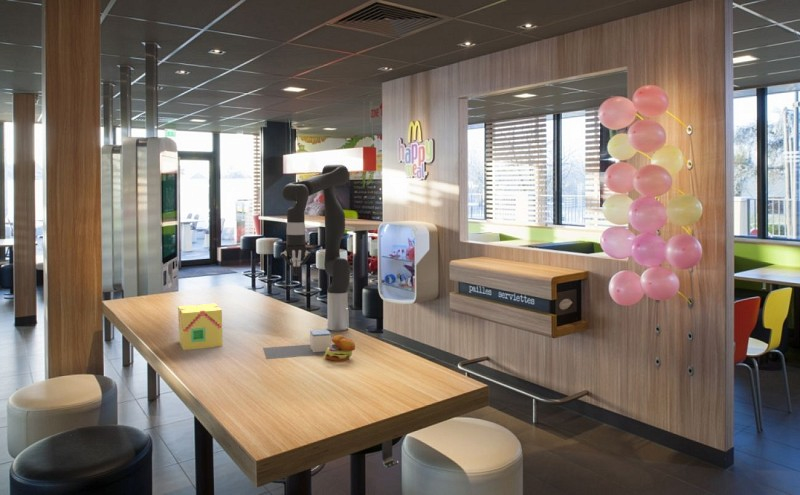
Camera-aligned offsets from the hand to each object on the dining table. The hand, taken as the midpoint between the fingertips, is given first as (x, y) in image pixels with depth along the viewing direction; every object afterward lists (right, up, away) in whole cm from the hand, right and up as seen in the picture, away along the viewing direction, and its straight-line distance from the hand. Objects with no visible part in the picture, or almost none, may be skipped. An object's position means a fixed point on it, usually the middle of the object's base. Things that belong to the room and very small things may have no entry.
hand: (296, 275), depth 239 cm
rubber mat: (+3, -30, -8) cm, 31 cm away
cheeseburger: (+20, -31, -16) cm, 40 cm away
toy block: (-40, -29, +2) cm, 49 cm away
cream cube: (+11, -23, -6) cm, 26 cm away
